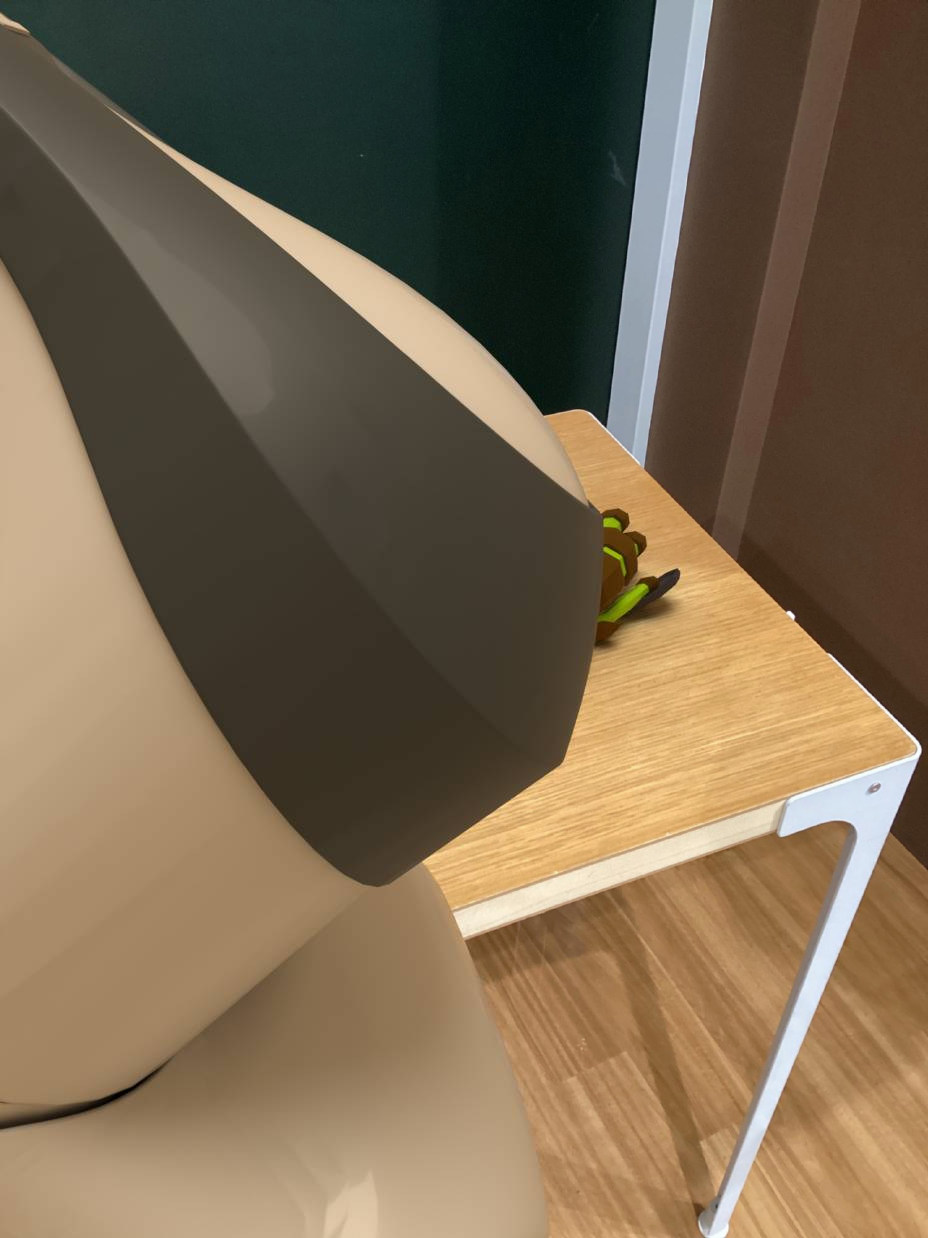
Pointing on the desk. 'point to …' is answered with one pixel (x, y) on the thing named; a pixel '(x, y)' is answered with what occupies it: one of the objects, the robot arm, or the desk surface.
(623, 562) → the goblin
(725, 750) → the desk surface
